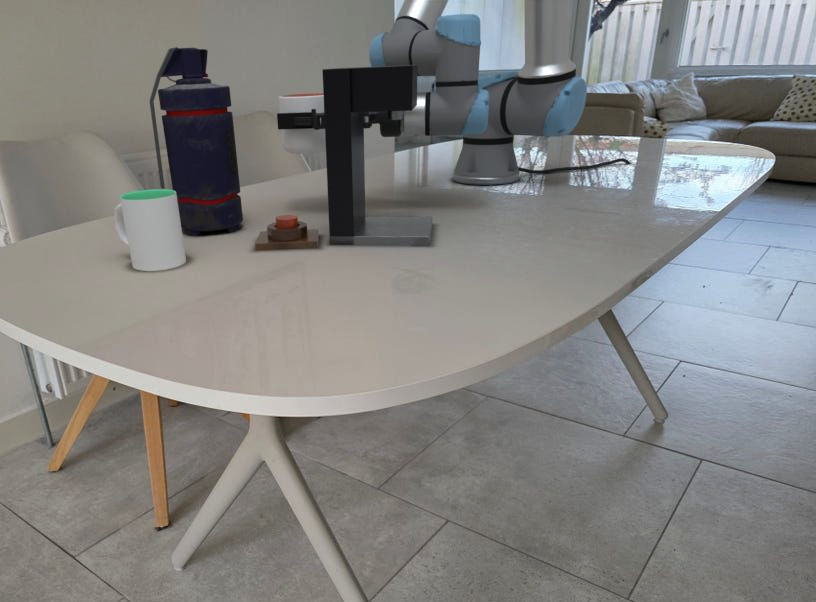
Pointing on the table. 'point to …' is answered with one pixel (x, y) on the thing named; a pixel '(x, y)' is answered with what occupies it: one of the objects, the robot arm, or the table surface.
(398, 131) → the robot arm
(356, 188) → the coffee maker
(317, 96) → the cup
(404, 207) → the table surface
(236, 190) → the grenade
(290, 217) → the brew button
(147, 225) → the mug
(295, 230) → the brew pad
